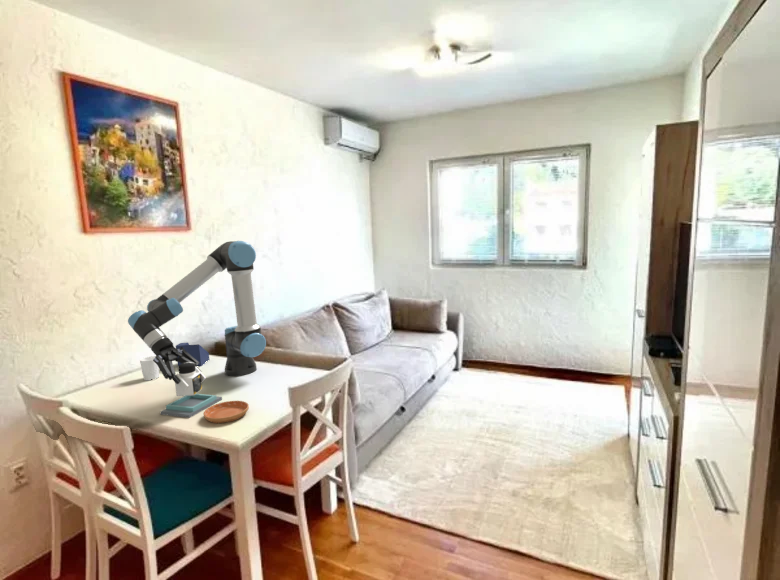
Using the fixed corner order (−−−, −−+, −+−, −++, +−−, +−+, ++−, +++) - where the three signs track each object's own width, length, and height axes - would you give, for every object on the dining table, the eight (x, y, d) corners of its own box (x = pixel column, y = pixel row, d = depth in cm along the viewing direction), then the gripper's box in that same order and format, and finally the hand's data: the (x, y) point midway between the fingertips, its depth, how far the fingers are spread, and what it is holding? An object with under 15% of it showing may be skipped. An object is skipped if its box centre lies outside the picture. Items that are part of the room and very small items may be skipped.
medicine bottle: (194, 395, 168) (191, 365, 167) (176, 396, 168) (172, 366, 167) (202, 389, 175) (199, 360, 174) (185, 389, 175) (181, 361, 174)
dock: (194, 397, 183) (194, 391, 183) (222, 399, 179) (221, 393, 179) (160, 414, 167) (159, 407, 166) (189, 417, 162) (188, 410, 162)
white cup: (164, 375, 216) (161, 356, 215) (154, 380, 208) (151, 360, 207) (149, 375, 217) (146, 356, 215) (138, 381, 209) (136, 361, 207)
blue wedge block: (209, 359, 240) (207, 338, 239) (201, 366, 229) (198, 344, 227) (187, 361, 240) (185, 340, 238) (178, 367, 228) (175, 345, 226)
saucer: (217, 429, 151) (216, 421, 151) (196, 418, 162) (195, 411, 161) (257, 413, 163) (256, 406, 163) (235, 404, 174) (234, 397, 173)
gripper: (175, 342, 185) (209, 381, 182) (131, 356, 164) (169, 400, 161) (184, 330, 182) (218, 369, 179) (140, 343, 162) (178, 387, 159)
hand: (195, 384), depth 170 cm, fingers closed on medicine bottle, 9 cm apart
